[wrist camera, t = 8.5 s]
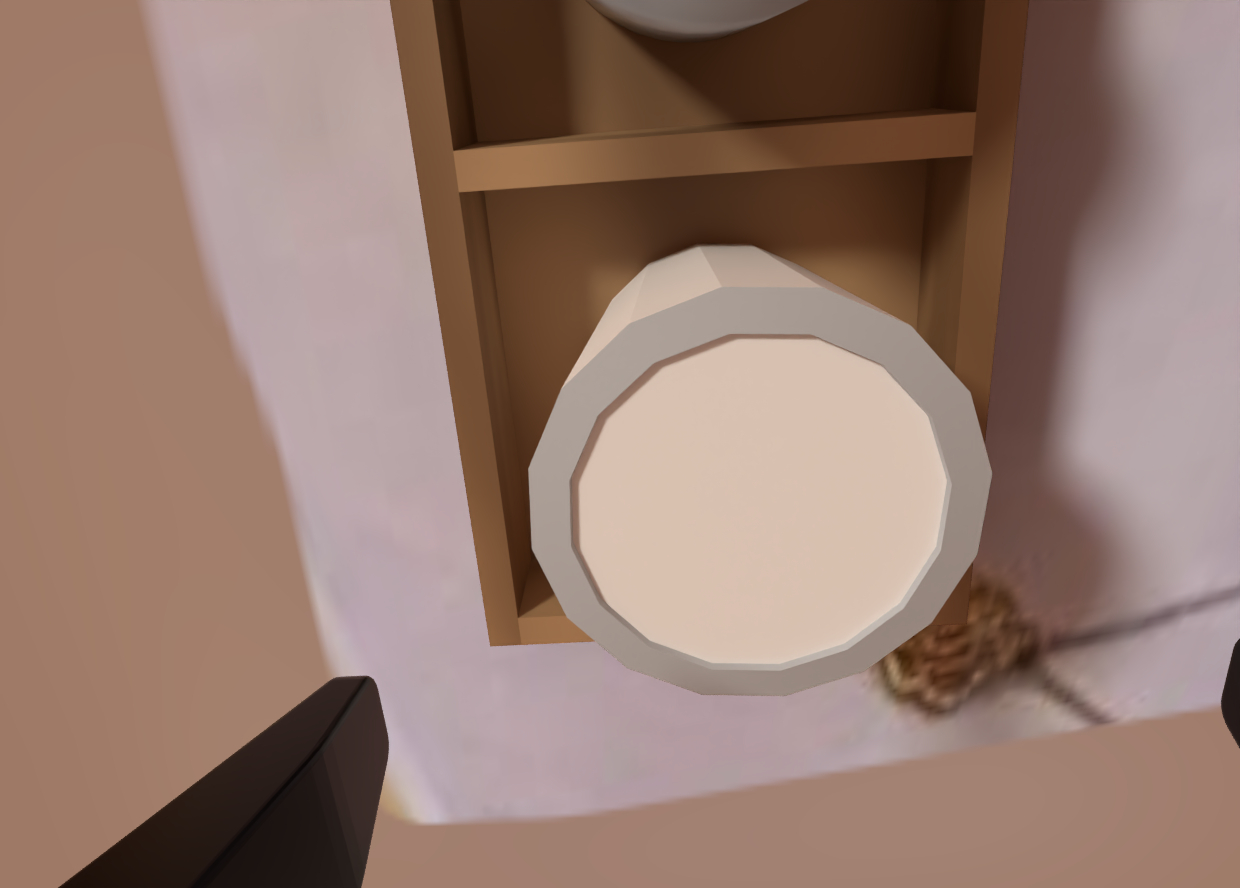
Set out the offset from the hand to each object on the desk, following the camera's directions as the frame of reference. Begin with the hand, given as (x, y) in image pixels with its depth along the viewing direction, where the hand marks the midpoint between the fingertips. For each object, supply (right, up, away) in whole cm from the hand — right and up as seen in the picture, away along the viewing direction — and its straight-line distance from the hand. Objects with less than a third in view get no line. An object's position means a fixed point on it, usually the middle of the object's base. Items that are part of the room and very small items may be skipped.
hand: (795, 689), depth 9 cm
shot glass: (0, +4, +10) cm, 11 cm away
